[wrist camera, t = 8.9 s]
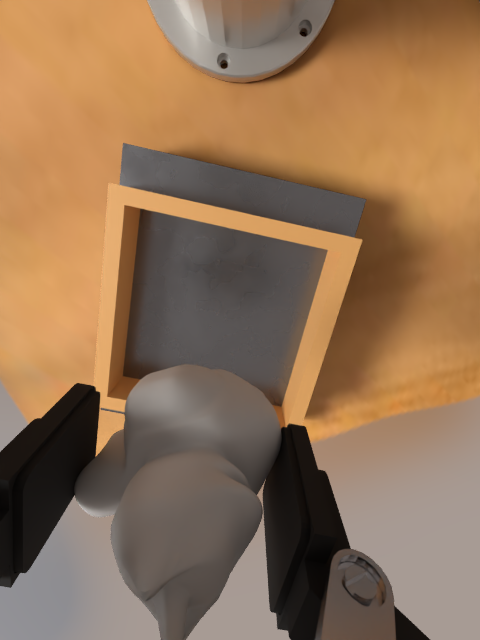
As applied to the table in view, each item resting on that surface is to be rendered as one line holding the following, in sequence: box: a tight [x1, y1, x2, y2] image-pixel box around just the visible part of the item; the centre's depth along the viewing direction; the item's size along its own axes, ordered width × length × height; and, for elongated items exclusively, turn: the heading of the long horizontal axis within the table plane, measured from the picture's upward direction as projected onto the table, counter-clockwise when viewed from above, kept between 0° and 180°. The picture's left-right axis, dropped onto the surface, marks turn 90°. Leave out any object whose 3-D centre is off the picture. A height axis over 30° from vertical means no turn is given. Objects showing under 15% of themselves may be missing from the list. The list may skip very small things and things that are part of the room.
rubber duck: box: [74, 364, 282, 640], centre depth 9 cm, size 5×7×8 cm
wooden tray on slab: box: [94, 143, 366, 428], centre depth 24 cm, size 20×16×7 cm
